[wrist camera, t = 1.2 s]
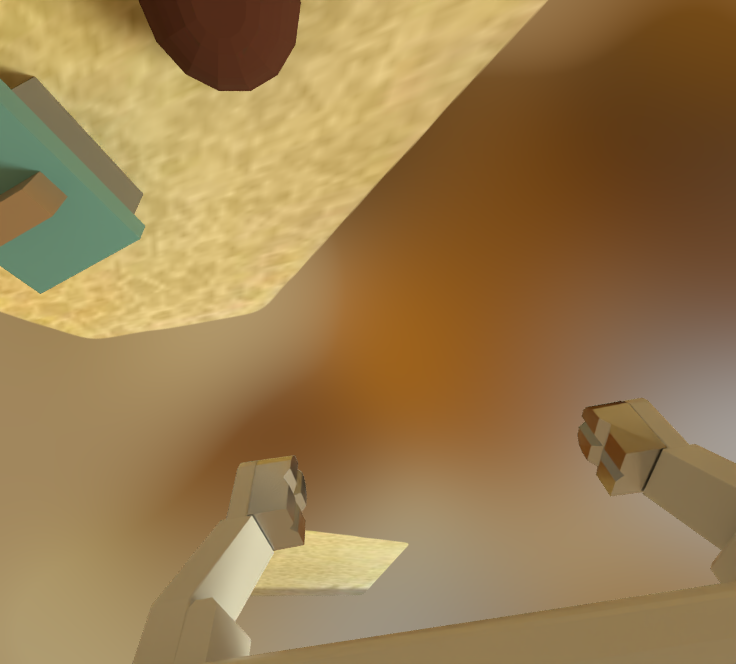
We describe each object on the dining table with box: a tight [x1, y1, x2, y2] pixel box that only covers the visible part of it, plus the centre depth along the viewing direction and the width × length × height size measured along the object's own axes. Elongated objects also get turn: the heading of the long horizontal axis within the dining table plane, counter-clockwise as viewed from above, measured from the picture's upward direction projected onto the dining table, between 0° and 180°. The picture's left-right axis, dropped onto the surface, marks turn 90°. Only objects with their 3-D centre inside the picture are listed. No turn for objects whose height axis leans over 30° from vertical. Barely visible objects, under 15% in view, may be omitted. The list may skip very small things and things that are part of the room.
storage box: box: [11, 77, 143, 214], centre depth 36 cm, size 12×10×8 cm
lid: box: [0, 79, 145, 294], centre depth 32 cm, size 14×12×6 cm
